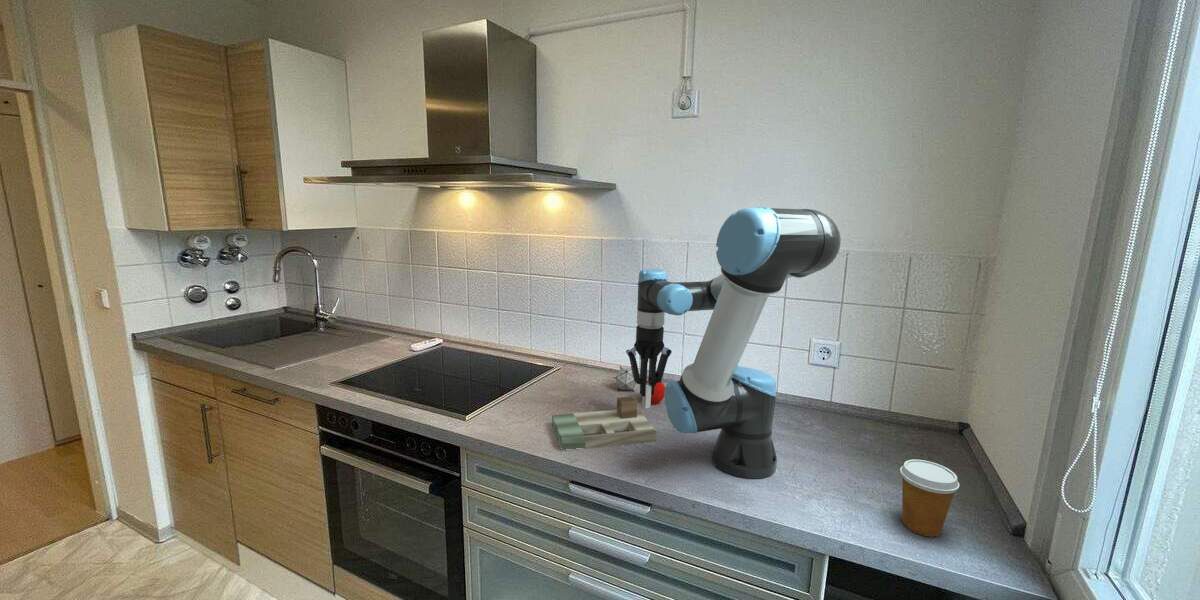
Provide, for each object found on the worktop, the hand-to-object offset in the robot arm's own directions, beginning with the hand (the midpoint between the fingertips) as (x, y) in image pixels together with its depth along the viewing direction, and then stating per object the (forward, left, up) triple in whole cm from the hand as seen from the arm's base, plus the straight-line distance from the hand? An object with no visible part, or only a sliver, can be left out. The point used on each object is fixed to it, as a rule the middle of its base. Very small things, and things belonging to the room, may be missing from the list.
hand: (646, 406), depth 139 cm
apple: (+14, -8, -5) cm, 17 cm away
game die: (+26, -3, -5) cm, 26 cm away
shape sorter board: (-4, +14, -5) cm, 15 cm away
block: (0, +6, -2) cm, 6 cm away
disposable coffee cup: (-56, -37, -5) cm, 67 cm away
